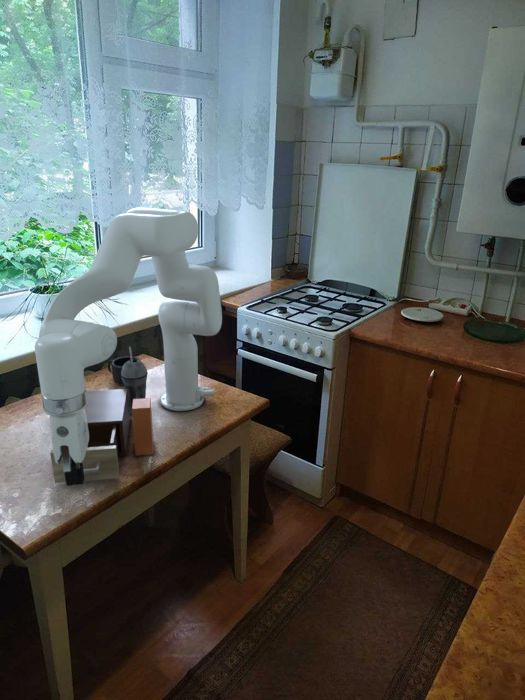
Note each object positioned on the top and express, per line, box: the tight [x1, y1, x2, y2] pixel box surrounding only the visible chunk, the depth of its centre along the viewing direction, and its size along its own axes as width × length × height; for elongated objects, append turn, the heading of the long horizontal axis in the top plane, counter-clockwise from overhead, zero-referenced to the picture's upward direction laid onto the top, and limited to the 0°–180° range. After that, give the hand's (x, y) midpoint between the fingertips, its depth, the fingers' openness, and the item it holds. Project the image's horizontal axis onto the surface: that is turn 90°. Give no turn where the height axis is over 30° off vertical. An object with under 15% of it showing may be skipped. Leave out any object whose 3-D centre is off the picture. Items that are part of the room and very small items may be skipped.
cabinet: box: [85, 388, 131, 457], centre depth 125 cm, size 17×15×10 cm
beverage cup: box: [121, 346, 148, 414], centre depth 137 cm, size 7×7×20 cm
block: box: [131, 397, 154, 456], centre depth 121 cm, size 4×5×13 cm
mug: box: [107, 355, 142, 386], centre depth 157 cm, size 12×9×7 cm
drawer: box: [49, 424, 120, 484], centre depth 113 cm, size 20×14×8 cm
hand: (75, 482), depth 98 cm, fingers closed
